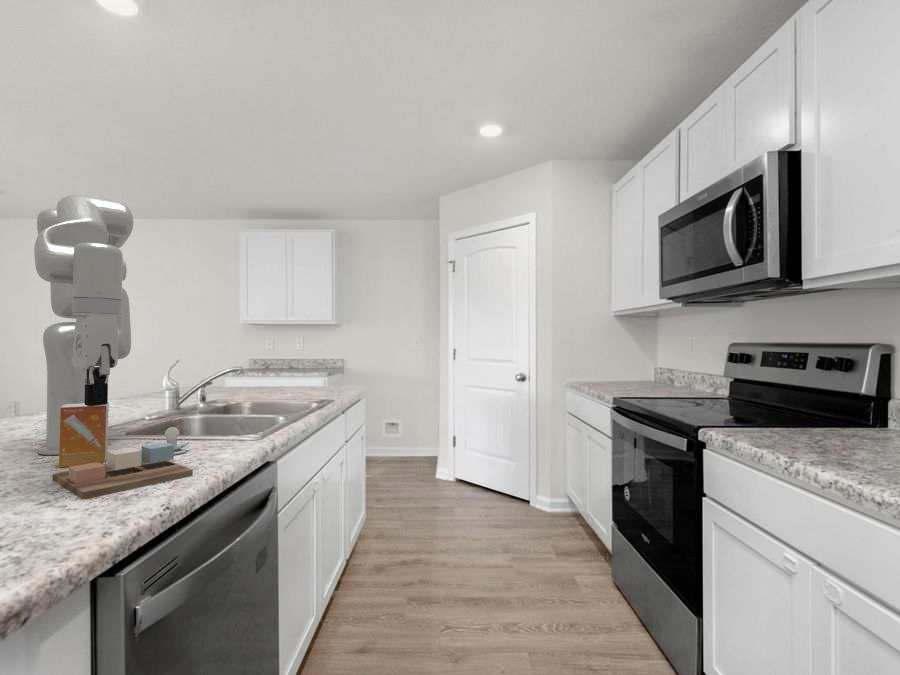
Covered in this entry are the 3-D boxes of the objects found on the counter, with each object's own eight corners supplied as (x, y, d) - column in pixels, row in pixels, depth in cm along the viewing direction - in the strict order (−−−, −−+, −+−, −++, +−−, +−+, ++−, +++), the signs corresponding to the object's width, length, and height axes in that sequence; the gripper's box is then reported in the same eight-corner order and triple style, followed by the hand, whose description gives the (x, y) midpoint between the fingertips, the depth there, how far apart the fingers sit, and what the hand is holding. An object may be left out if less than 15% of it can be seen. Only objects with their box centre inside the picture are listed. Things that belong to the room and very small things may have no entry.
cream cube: (106, 466, 90) (107, 451, 90) (132, 461, 94) (132, 447, 94) (115, 470, 88) (115, 454, 88) (141, 465, 91) (141, 450, 91)
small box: (58, 468, 97) (59, 407, 97) (63, 461, 102) (64, 403, 102) (106, 463, 101) (106, 404, 102) (108, 457, 107) (108, 401, 107)
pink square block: (68, 483, 86) (68, 466, 86) (97, 477, 89) (97, 462, 89) (76, 487, 83) (76, 471, 83) (105, 481, 86) (105, 465, 86)
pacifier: (187, 455, 110) (189, 449, 115) (187, 429, 109) (189, 424, 115) (151, 458, 106) (155, 452, 112) (151, 432, 106) (155, 426, 112)
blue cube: (141, 460, 95) (141, 445, 95) (164, 456, 99) (164, 442, 99) (150, 463, 93) (150, 449, 93) (173, 459, 96) (173, 445, 96)
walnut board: (52, 480, 89) (52, 473, 89) (155, 461, 103) (155, 455, 103) (82, 499, 78) (83, 492, 78) (192, 475, 93) (192, 469, 93)
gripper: (61, 309, 89) (60, 403, 89) (85, 306, 80) (83, 411, 80) (107, 311, 95) (106, 399, 95) (135, 309, 86) (133, 406, 86)
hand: (96, 404), depth 87 cm, fingers closed
